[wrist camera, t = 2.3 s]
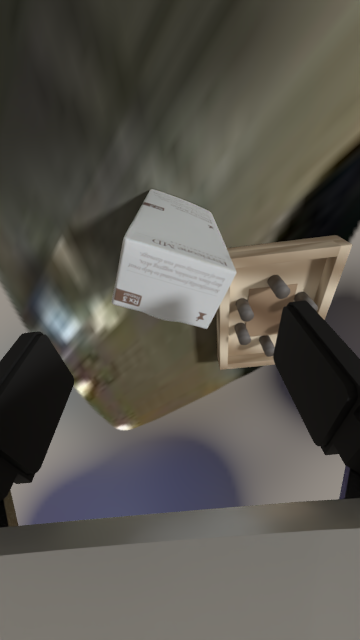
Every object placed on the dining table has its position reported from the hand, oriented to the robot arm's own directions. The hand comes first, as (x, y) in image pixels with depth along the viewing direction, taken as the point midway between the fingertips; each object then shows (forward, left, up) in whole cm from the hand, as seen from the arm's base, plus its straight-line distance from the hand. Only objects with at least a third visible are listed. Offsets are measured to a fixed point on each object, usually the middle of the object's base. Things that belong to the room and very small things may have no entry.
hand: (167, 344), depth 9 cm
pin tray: (+11, +10, -16) cm, 22 cm away
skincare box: (0, 0, -16) cm, 16 cm away
